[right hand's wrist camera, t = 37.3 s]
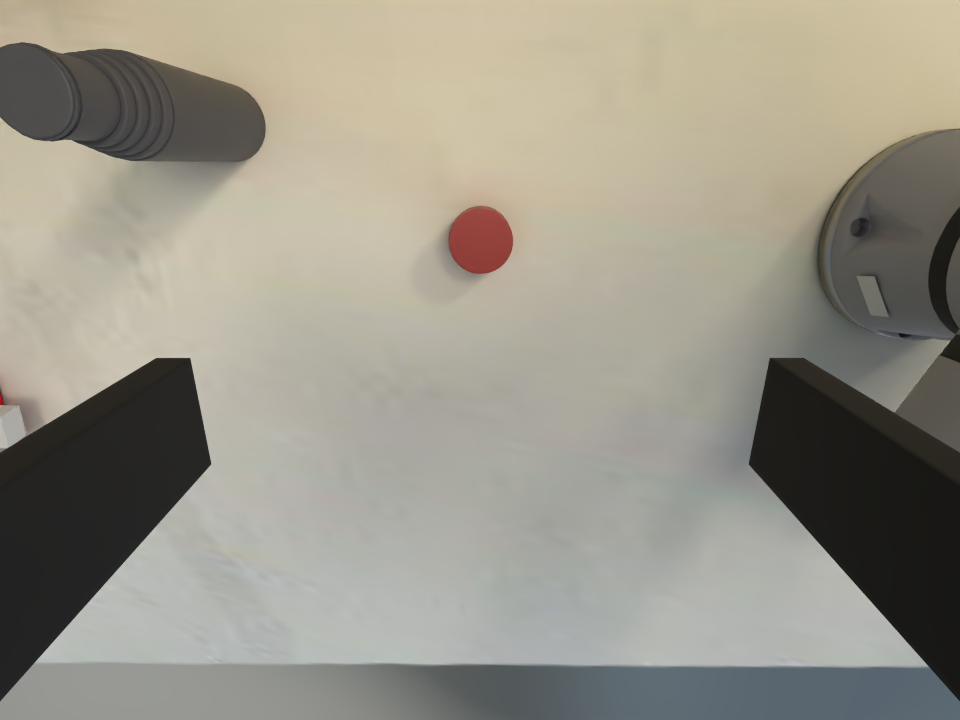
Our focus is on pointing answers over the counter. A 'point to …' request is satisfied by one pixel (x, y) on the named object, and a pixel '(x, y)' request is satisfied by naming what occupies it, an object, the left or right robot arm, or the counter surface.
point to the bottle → (126, 105)
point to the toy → (10, 425)
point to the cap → (480, 240)
